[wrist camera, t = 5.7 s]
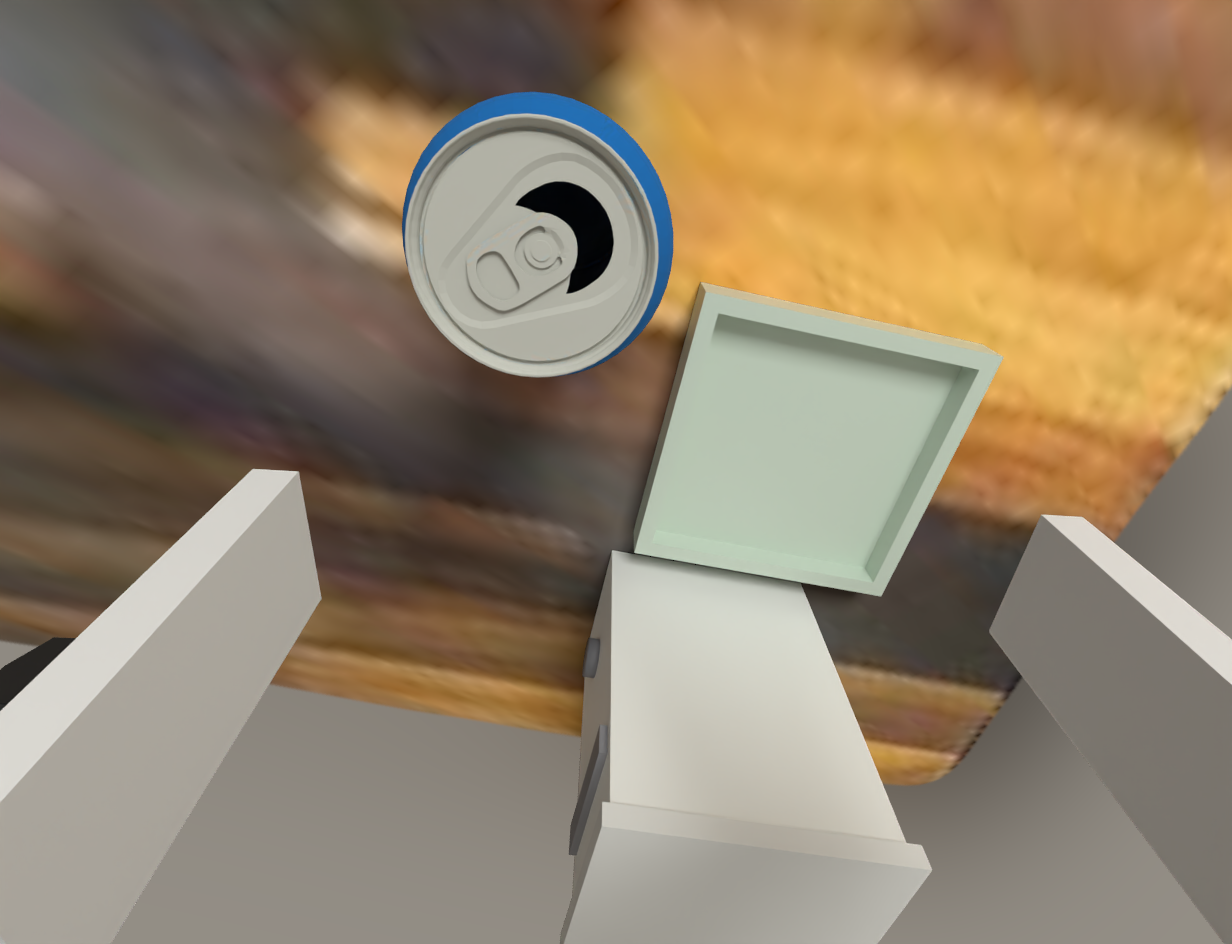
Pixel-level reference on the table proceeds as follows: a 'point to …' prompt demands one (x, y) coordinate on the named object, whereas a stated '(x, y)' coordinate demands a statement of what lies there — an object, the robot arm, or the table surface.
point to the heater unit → (725, 773)
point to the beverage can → (537, 235)
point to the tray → (804, 440)
